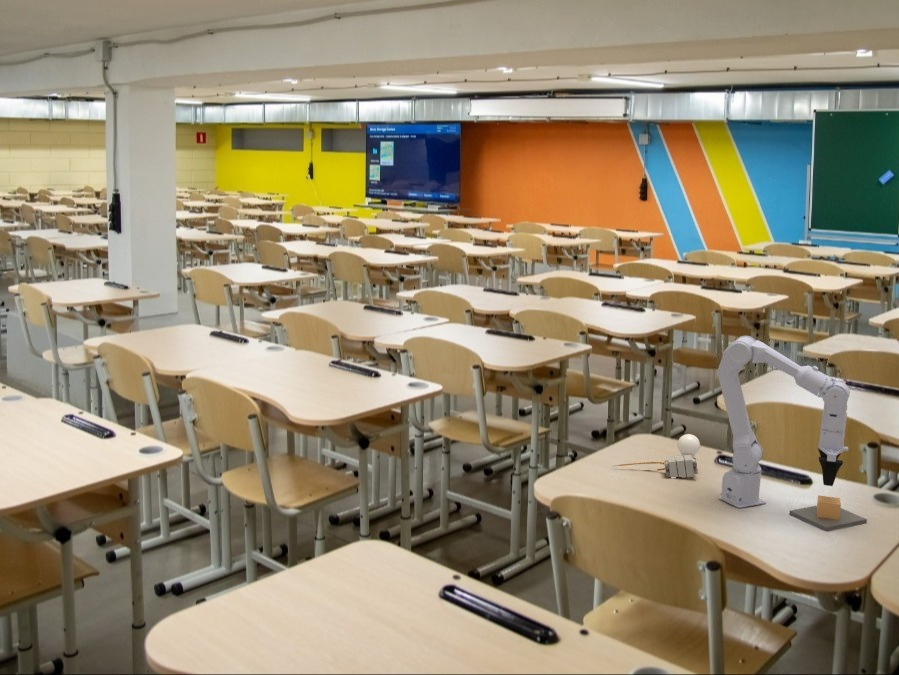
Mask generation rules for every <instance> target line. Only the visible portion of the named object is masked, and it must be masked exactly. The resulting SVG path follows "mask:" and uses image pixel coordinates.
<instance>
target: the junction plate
mask: <svg viewBox="0 0 899 675" xmlns="http://www.w3.org/2000/svg"><path fill="white" fill-rule="evenodd" d="M788 515H790V516H792V517H794V518H795V519H799V520H801V521H803V522H806V523H808V524H809V525H811V526H814V527H816V528H818V529H819V530H820V529H821V530H823V531H825V532H829V531H834V530H838V529H839V530H840V529H843V528H848V527H853V526H858V525H863V524H867V521H868V520H867V518H865V517H863V516H860V515H859V514H856V513H853V512H850V511H848V510H847V509H844V508H840V518H839V520H836V519H828V518H821V517H817V505H813V506H812V505H811V506H806V507H802V508H797V509H791V510H789V513H788Z"/></svg>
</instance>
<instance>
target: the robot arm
mask: <svg viewBox="0 0 899 675" xmlns="http://www.w3.org/2000/svg"><path fill="white" fill-rule="evenodd" d="M750 360H752V361H751V364H763V363H764V364H767V365H770V366H772V367H773V368H776V369H777V370H779V371H781V372H783V373H785V374H787V375H789V376H790V377H793V378H794V381H795V384H796V386H799V387H800V388H802V389H804V390H805V391H807V392H809V393H811V394H813V395H814V396H816V397H817V398H822V401H823V410H822V412H821V414H822V415H821V421H820V423H821V424H820V434H819V443H818V445H817V446H818V447H817V451H818V452H819V455H820V456H818V461H819V464H820V466H821V471H822V472H821V474H822V483H823V486H826V487H827V486H828V487H833V486H834V483H835V480H836V477H837V474H838V472H839V470H840V469H841V467H842V466H843V464H844V461H843V460H841V459H839V457H840V455H841V454H842V453H843V452H848V451H849V447H848V446H844V445H845V436H846V426H847V417H848V412H847V410H848V401H849V398H850V393H851V392H850V387H849V386H848V385H847V384H846V383H845V382H844V381H843V380H840V379H839V380H838V379H836V378H835V377H834V376H832V377H831V376H829V375H826V374H825V373H823V372H822V371H820V370H819V367H817V365H813V366H811V365H803V366H801V365H799V364H798V363H796V362H794V361H793V360H791V359H790V358H789V357H786V356H785V355H783V354H782V353H780V352H779V351H777V350H775V349H774V348H772V347H771V346H769V345H768V344H766V343H764V342H762V341H760V340H758V339H757V340H756V339H755V338H753V337H752V336H750V335H741V336H739V337H738V338H737V339H735V340H734V341H733V342H731V343H730V344H729V345H728V346H727V347H726V348H725V349H724V350H723V352H722V357H721V360H720V363H719V366H718V368H717V372H716V373H717V377H718V382H719V385H720V388H721V393H722V396H723V397H722V398H723V402H724V405H725V409H726V413H727V417H728V421H729V425H730V428H731V429H730V430H731V433H732V436H733V437H732V450H733V455H732V464H733V465H732V468H731V469H730V470H728V471H726V472H724V474H723V475H722V478H721V479H722V482H721V494H720V495H721V496H718V499H719V500H721V501H724V502H725V503H728V504H730V505H731V506H734V507H736V508H738V509H741V508H746V507H752V506H753V507H754V506H758V505H764V504H766V503H767V501H766V500H764V499H761V498H760V491H761V490H760V489H761V480H762V478H761V477H762V467H761V465H760V461H761V460H762V459H763V456H764V449H763V447H762V446H761V444H760V443H759V442H758V440H757V436H756V435H755V434H756V433H754V431H753V430H752V425H751V421H750V417H749V413H748V409H747V406H746V405H747V404H746V401H745V396H744V393H743V392H744V391H743V388H742V385H741V381H740V377H739V373H740V371H741V370H742V369H743V368H744V366H745V365H746V364H747V363H749V361H750Z"/></svg>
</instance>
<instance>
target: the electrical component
mask: <svg viewBox="0 0 899 675" xmlns="http://www.w3.org/2000/svg"><path fill="white" fill-rule="evenodd" d="M645 464H646V465H650V464H651V465H652V464H654V465H655V464H661V465H664V468H656V469H657V471H665V476H666V478H670V477H678V478H679V477H682V478H693V477H695V475H697V474H698V475H699V471H698V470H699V469H698V467H697V466H698V463H697V458H696V457H694V458H692V456H691V455H684V458H683V455H673V456H667V460H665V461H664V462H663V461H662V462H660V461H647V462H637V463H636V462H634V463H625V464H624V463H623V464H621V463H620V464H616V465H614V466H613V467H622V466H623V467H624V466H632V465H635V466H636V465H645ZM678 475H679V476H678ZM682 478H681V479H682Z"/></svg>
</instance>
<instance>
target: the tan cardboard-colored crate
mask: <svg viewBox="0 0 899 675" xmlns="http://www.w3.org/2000/svg"><path fill="white" fill-rule="evenodd" d="M841 505H842V504H841V499H840V497H835V496H827V495H818V494H817V502H816V506H817V517H821V518H828V519H836V520H839V518H840V508H841V507H842V506H841Z"/></svg>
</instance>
